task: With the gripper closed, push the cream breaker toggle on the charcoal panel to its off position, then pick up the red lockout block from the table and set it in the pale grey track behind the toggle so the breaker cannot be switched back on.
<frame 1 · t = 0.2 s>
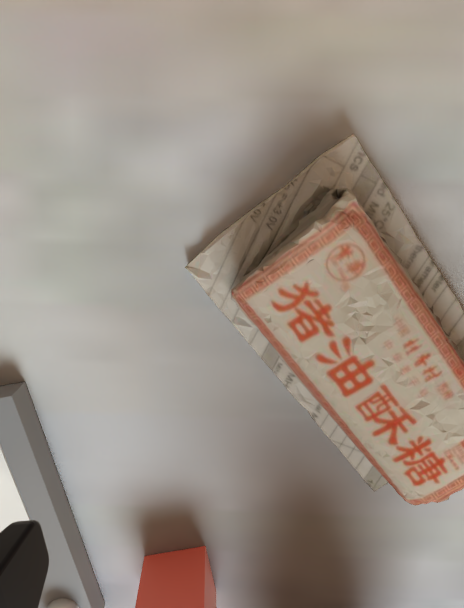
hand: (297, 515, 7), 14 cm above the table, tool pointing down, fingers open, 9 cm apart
breaker panel: (12, 514, 24), on the table
packaged product: (355, 329, 22), on the table
lockout block: (181, 573, 26), on the table
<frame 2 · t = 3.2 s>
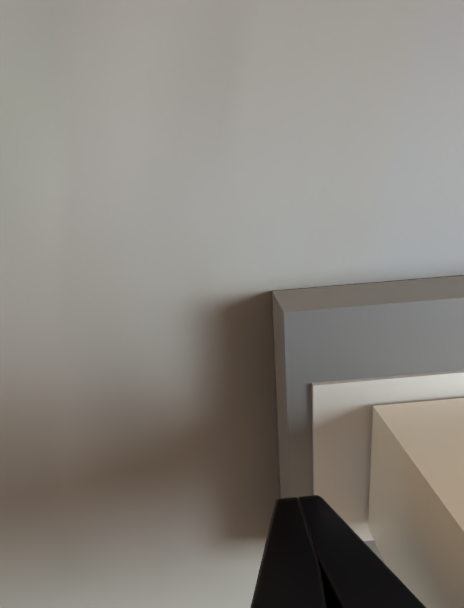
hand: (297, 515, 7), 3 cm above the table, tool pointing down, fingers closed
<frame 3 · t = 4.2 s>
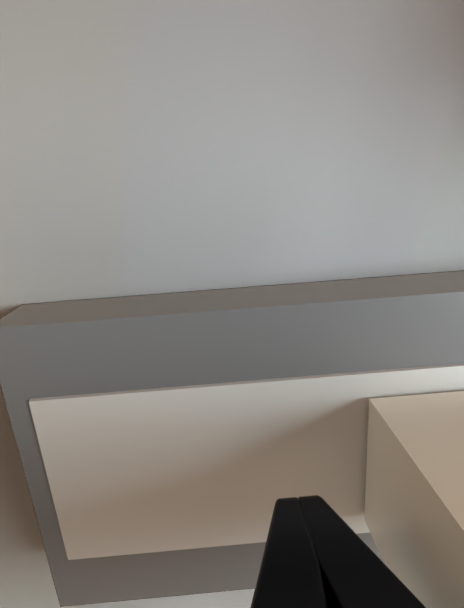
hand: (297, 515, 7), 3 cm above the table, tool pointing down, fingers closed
breaker panel: (397, 411, 10), on the table
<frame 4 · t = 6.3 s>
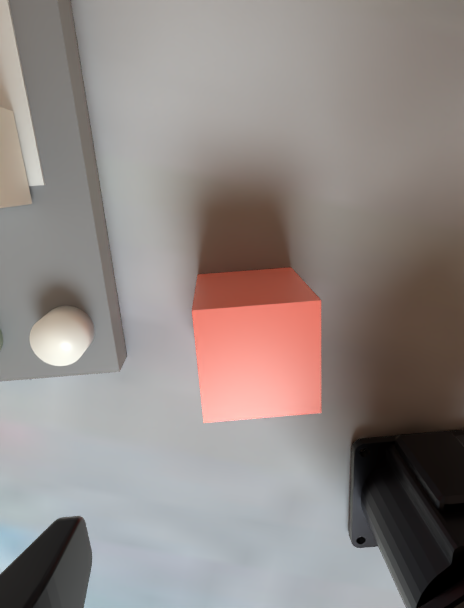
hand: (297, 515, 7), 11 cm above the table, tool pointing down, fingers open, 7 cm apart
breaker panel: (3, 161, 15), on the table
lockout block: (247, 314, 18), on the table
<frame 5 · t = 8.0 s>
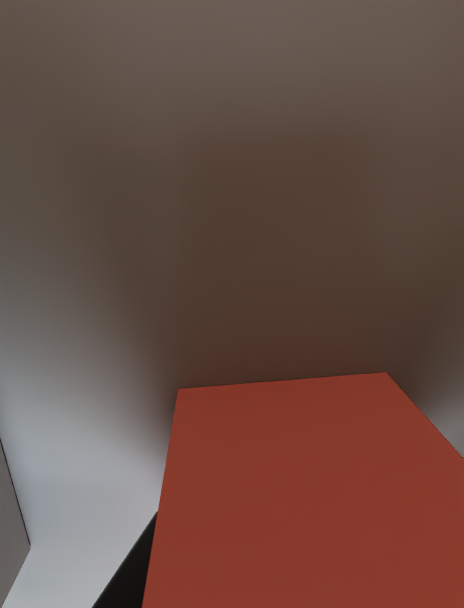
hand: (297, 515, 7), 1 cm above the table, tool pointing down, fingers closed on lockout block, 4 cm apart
lockout block: (285, 466, 8), on the table, touching gripper
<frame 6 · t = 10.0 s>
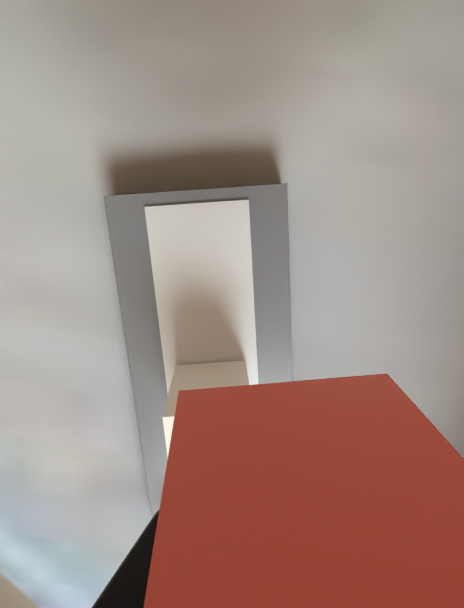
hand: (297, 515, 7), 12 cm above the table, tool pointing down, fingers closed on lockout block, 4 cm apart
breaker toggle: (212, 419, 15), point 4 cm above the table, slide at 6.1 cm
breaker panel: (213, 374, 19), on the table
lockout block: (286, 468, 8), point 10 cm above the table, touching gripper
when the fingers open (4 cm above the table, at t = 11.9 s): lockout block drops 1 cm, resting on breaker panel.
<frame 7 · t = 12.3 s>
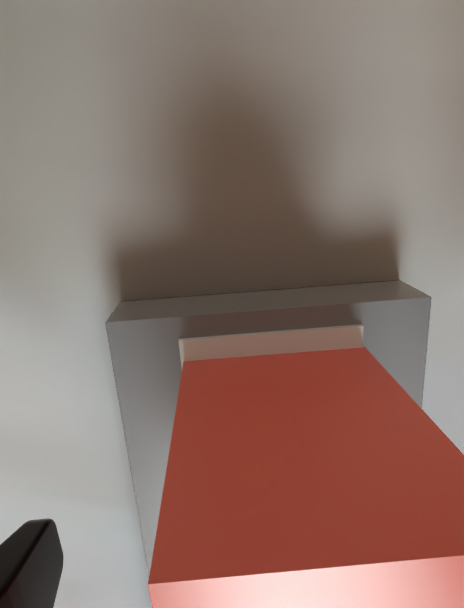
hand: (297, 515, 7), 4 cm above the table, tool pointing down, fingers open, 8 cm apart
breaker panel: (273, 551, 12), on the table
lockout block: (277, 432, 9), point 2 cm above the table, touching breaker panel
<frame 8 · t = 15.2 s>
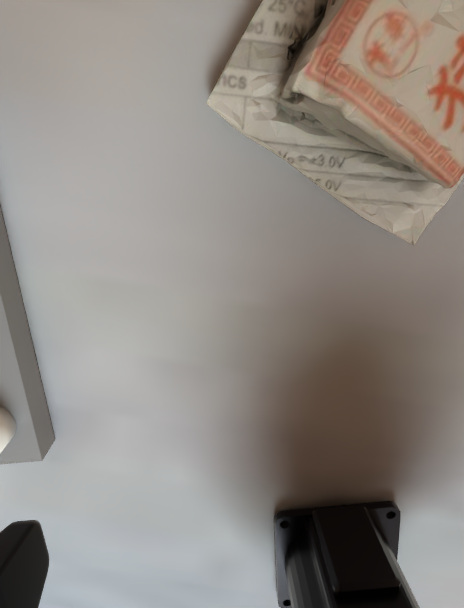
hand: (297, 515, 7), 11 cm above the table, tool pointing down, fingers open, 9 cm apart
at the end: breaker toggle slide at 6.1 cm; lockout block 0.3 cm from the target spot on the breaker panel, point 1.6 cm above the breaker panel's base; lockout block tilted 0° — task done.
